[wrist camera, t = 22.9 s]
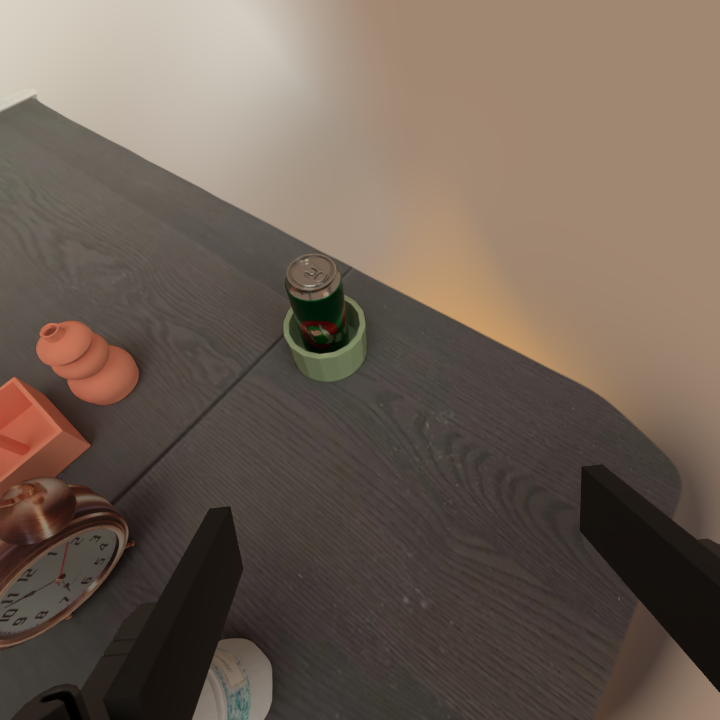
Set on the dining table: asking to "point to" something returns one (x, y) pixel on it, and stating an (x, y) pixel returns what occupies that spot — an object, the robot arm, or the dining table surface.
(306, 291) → the soda can
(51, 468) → the pottery
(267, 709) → the bottle
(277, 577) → the dining table surface
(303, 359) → the cup
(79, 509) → the alarm clock
